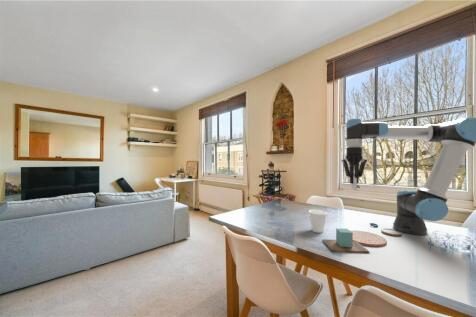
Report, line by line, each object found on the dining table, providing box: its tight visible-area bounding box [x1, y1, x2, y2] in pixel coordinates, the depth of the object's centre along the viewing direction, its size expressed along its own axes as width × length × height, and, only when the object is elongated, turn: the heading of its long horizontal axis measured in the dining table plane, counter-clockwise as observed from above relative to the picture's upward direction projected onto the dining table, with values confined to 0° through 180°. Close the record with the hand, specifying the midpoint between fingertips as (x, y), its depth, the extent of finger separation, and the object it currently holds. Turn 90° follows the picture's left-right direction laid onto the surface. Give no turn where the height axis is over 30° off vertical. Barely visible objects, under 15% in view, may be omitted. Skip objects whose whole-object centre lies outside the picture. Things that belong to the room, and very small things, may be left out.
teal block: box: [335, 228, 354, 247], centre depth 95 cm, size 5×5×7 cm
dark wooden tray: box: [321, 238, 370, 254], centre depth 95 cm, size 16×12×7 cm
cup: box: [308, 209, 328, 234], centre depth 115 cm, size 10×10×11 cm
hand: (354, 189), depth 112 cm, fingers closed
